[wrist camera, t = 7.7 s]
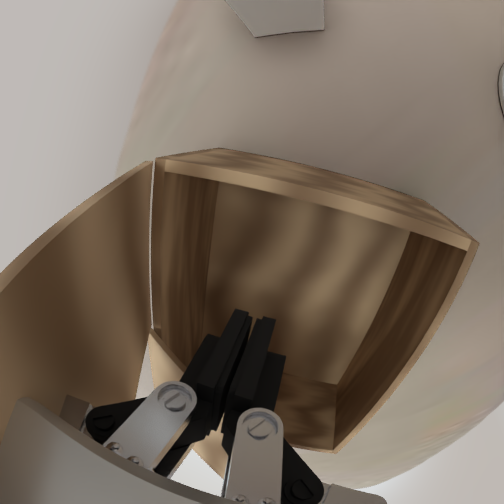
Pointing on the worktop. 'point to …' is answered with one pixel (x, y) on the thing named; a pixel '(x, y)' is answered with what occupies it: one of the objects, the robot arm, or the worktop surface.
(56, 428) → the robot arm
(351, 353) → the carton
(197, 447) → the flap
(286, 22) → the milk carton
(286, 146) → the worktop surface
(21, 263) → the flap
